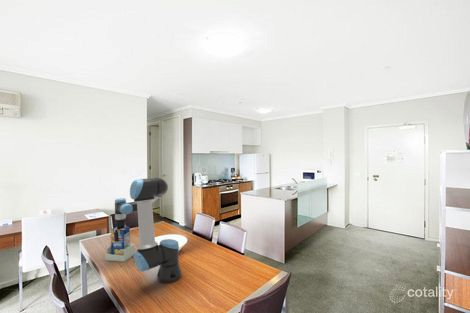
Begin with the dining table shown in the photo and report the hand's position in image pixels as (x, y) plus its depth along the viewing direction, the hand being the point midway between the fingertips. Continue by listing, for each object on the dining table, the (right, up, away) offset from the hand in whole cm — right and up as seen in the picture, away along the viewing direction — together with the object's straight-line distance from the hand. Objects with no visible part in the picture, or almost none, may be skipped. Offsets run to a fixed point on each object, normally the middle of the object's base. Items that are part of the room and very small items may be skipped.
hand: (120, 248), depth 164 cm
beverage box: (0, -6, 0) cm, 6 cm away
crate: (0, -7, 0) cm, 7 cm away
